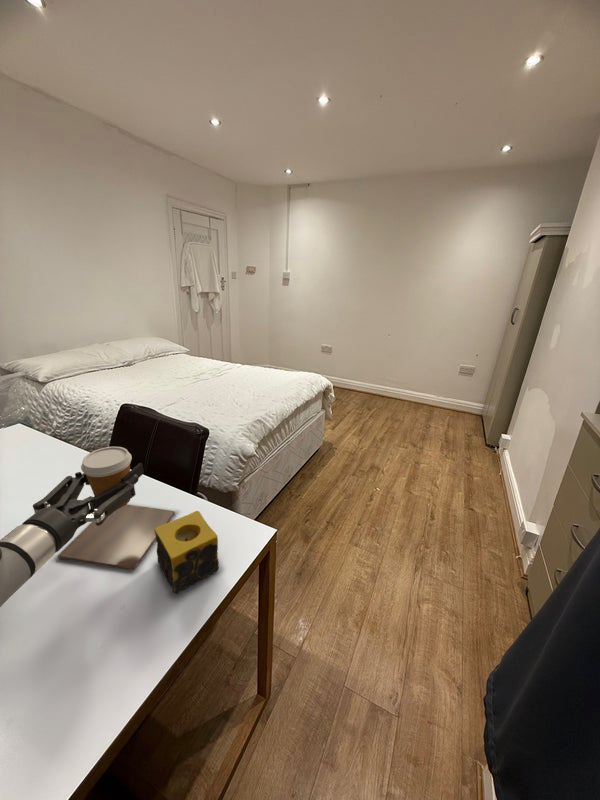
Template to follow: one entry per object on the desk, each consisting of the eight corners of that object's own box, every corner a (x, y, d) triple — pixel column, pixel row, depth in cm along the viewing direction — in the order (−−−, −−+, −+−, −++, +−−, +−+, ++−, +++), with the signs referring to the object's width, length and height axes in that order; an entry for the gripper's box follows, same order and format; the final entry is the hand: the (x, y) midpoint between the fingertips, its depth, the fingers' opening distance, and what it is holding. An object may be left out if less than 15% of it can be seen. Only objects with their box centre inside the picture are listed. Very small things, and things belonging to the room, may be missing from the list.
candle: (157, 562, 71) (152, 528, 68) (200, 541, 78) (197, 508, 74) (174, 597, 64) (169, 560, 61) (220, 570, 70) (218, 535, 67)
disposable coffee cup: (80, 510, 70) (68, 463, 66) (115, 485, 79) (107, 442, 74) (114, 521, 68) (104, 473, 63) (147, 494, 76) (140, 450, 72)
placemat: (58, 558, 71) (57, 555, 71) (112, 504, 88) (112, 502, 87) (133, 570, 69) (133, 568, 69) (174, 513, 86) (174, 511, 86)
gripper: (-10, 547, 57) (86, 473, 78) (98, 565, 55) (167, 484, 76) (-24, 513, 54) (80, 446, 75) (90, 531, 52) (164, 457, 73)
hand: (124, 465), depth 75 cm, fingers closed on disposable coffee cup, 8 cm apart
